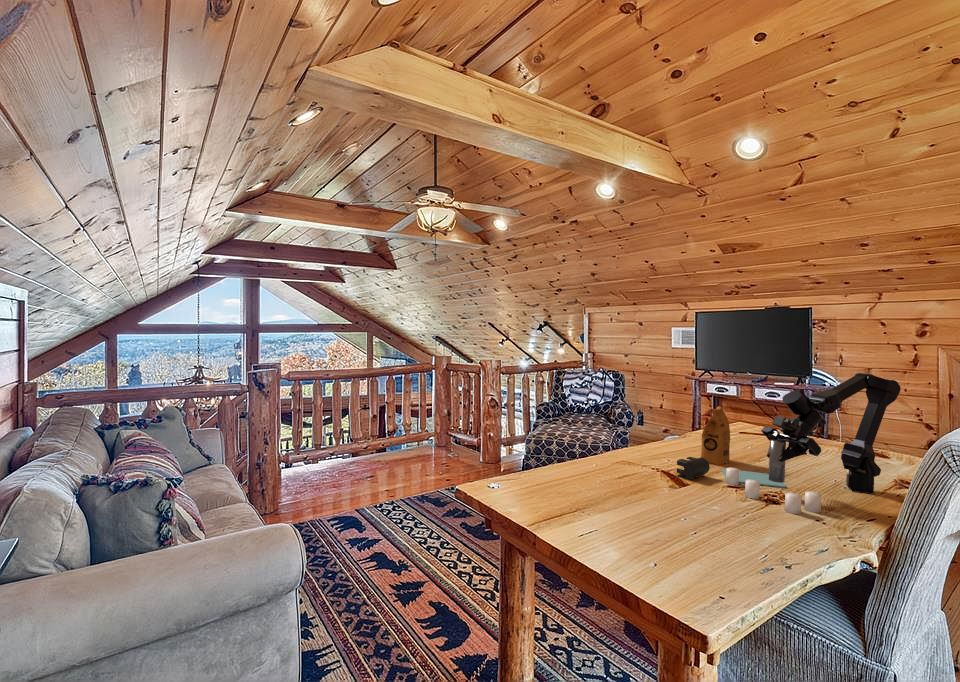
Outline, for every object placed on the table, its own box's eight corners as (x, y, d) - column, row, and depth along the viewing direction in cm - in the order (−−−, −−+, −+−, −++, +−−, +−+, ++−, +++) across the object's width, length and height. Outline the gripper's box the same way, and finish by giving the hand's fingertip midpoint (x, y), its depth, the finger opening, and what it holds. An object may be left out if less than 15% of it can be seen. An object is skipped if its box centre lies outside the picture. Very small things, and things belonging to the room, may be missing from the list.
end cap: (693, 482, 164) (694, 463, 164) (675, 476, 170) (676, 458, 170) (709, 477, 170) (710, 459, 170) (691, 472, 176) (692, 454, 176)
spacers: (750, 480, 167) (750, 466, 167) (824, 512, 139) (824, 495, 139) (715, 482, 165) (716, 468, 164) (783, 515, 136) (784, 498, 136)
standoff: (783, 479, 153) (784, 440, 153) (785, 483, 149) (787, 443, 149) (767, 477, 155) (769, 438, 155) (769, 481, 151) (771, 441, 151)
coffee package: (696, 461, 190) (698, 407, 190) (708, 455, 199) (709, 404, 198) (722, 466, 183) (724, 411, 182) (733, 460, 192) (735, 407, 191)
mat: (774, 475, 173) (774, 474, 173) (786, 488, 160) (786, 486, 160) (720, 470, 178) (721, 468, 178) (728, 481, 165) (728, 480, 165)
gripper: (766, 402, 161) (737, 435, 160) (815, 413, 143) (782, 449, 141) (785, 424, 163) (757, 457, 161) (835, 437, 145) (804, 474, 143)
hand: (773, 459), depth 152 cm, fingers closed on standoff, 4 cm apart
